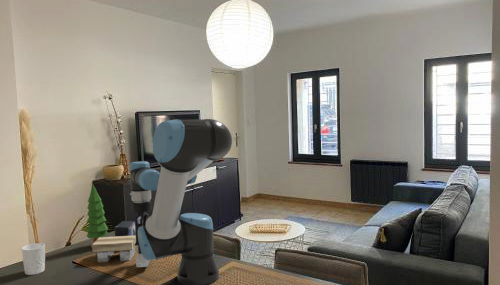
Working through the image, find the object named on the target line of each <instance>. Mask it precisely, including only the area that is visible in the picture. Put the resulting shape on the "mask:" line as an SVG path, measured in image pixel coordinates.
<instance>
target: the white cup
mask: <svg viewBox="0 0 500 285" xmlns="http://www.w3.org/2000/svg"><path fill="white" fill-rule="evenodd" d="M21 254H22V262H23V268H24V270H23V271H24V274H25V275H27V276H32V275H38V274H41V273H42V272H44V271H45V270H46V269H45V268H46V244H45V243H42V242H39V243H37V242H36V243H29V244H27V245H24V246H22V247H21Z"/></svg>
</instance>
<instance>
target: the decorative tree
mask: <svg viewBox="0 0 500 285" xmlns="http://www.w3.org/2000/svg"><path fill="white" fill-rule="evenodd" d="M87 199H88V200H87V202H88V206H87V209H88V211H87V216H88V218H87V221H86V223H87V224H88V225H87V228H86V232H87V234H86V237H87V238H88V239H93V240H92V244H93V243H94V242H95V241H96V240H97V239H98V238H99V237H107V235H108V234H109V233H108V230H109V227H108V226H107V224H106V222H107V219H106V217H105V213H106V212H105V210H104V204H103V202H102V198H101V197H100V195H99V193H98V191H97V189H96V187H95V185H94V184H93V182H92V184H91V189H90V193H89V197H88V198H87ZM91 249H92V245H91Z"/></svg>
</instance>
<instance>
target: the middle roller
mask: <svg viewBox="0 0 500 285" xmlns="http://www.w3.org/2000/svg"><path fill="white" fill-rule="evenodd" d="M96 253H97V254H96V255H97V263H108V262H109V261H110V259H111V258H112V257H113V256H114V255H115V251H103V252H96ZM112 255H113V256H112Z"/></svg>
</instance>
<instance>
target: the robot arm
mask: <svg viewBox="0 0 500 285" xmlns="http://www.w3.org/2000/svg"><path fill="white" fill-rule="evenodd" d="M152 137H153V139H152V143H153V144H152V153H153V156H154V159H155V160H156V162H158V165H159V166H160V167H154V168H151V167H150V162H148V161H146V160H145V161H144V160H143V161H142V160H141V161H133V162H130V164H129V178H130V192H129V195H130V198H131V201H132V202H131V211H132V212H133V213H137V216H136V217H135V219H134V220H135V235H136V243H135V247H136V253H137V255H136V256H138V262H144V261H145V259H146V260H150V261H154V260H155V261H157V260H159V259H164V258H167V257H172V256H177V255H181V257H180V258H181V259H180V263H179V265H178V270H177V272H176V273H177V278H176V279H177V281H178V282H179V283H180V284H182V285H209V284H211V283H214V282H215V281H217V280H218V279H219V277H220V270H219V267H218V263H217V261H216V257H215V256H214V255H215V254H214V251H215V250H214V224H213V219H212V217H211V216H209V215H208V214H204V213H197V212H187V213H182V214H180V213H181V209H182V205H183V201H184V196H185V193H186V189H187V186H188V185H192V184H195V183H196V180H197V178H198V175H199V173H201V172H202V171H203V170H205V169H206V168H207V167H208V166H209V165H211V164H212V163H213V162H218V161H220V160H221V159H223V158H224V157H226V156H227V155H228V153H229V152H230V151H231V148H232V144H233V138H232V137H233V136H232V133H231V132H230V130H229V128H228V127H227V126H226V125H225V124H224V123H223V122H221V121H219V120H216V119H212V118H204V119H202V118H201V119H177V118H176V119H175V118H174V119H171V120H170V119H169V120H168V119H167V120H163V121H161V122H160V123H159V124H158V125H157V126H156V128H155V130H154V132H153V136H152ZM152 191H156V193H155V198H154V203H153V208H152V201H151V199H152ZM150 211H152V214H151V215H150V216H149V212H150Z"/></svg>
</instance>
